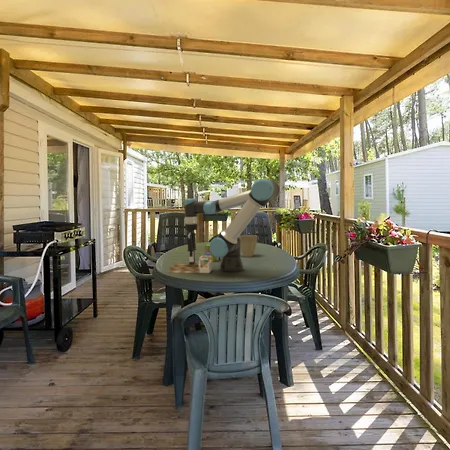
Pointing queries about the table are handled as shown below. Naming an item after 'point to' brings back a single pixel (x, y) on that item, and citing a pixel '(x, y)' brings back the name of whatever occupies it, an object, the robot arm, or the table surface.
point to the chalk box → (210, 254)
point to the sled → (192, 264)
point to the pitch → (184, 269)
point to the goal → (203, 269)
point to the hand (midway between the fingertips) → (192, 261)
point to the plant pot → (248, 244)
